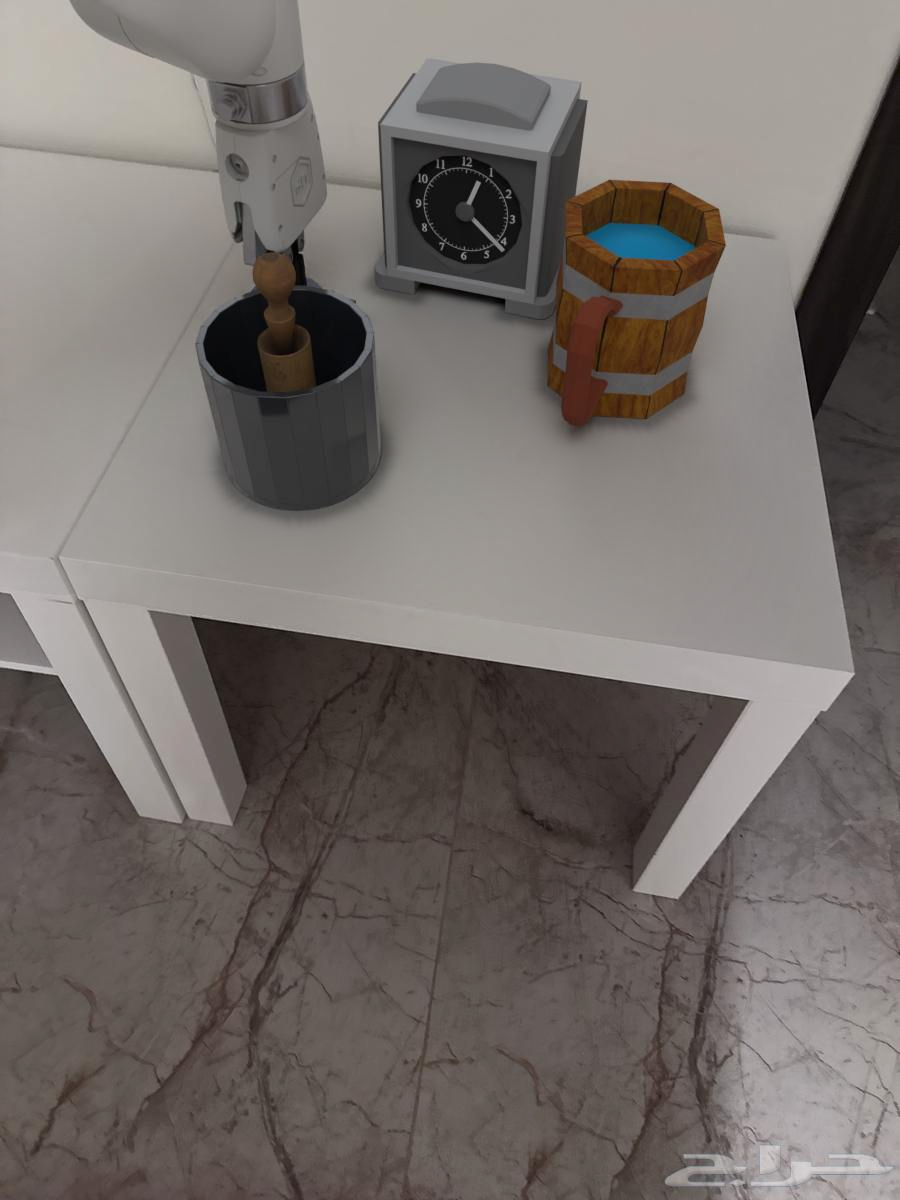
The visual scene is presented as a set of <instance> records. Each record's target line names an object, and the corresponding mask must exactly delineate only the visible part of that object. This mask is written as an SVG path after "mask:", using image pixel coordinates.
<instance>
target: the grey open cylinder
mask: <svg viewBox="0 0 900 1200" xmlns="http://www.w3.org/2000/svg"><path fill="white" fill-rule="evenodd" d="M347 298H348V297H346V296H344V295H342V294H340V293H337V292H336V291H333V290H329V289H325V288H322V289H321V288H317V287H313V286H298V285H294V287H293V289H292V292H291V294H290V296H289V297H288V304H289V305H290V306H292V307H293V308H294V310H295V325H299V326H301V327H303V328H305V329H306V330H307V331H308V333H309V335H310V340H311V349H312V358H313V366H314V373H315V381H316V387H314V388H309V389H303V390H298V391H292V392H267V388H266V383H265V378H264V373H263V368H262V363H261V358H260V353H259V349H258V343H257V341H258V338H259V336H260V335H261V333H262V332H264V331H265V330H266V329H268V328H269V327H268V325H267V323H266V320H265V317H264V311H265V310H266V308H268V307H269V304H268V301H267V299H266V298H265V297H264V296H263V295H262V293H261V292H260V291H259V290H258V289H256V290H254V291H251V290H250V291H249V292H246V293H243V294H240V295H237V296H235V297H233V298H231V299H229V300H227V302H225V303H223V304H222V305H221V306H219V307H218V308H216V309H215V310H213V311H212V312H211V313H210V315H209V316H208V317H207V318H206V319H205V321H204V322H203V323H202V324H201V326H200V328H199V330H198V334H197V337H196V341H195V345H194V346H195V351H196V356H197V361H198V365H199V369H200V373H201V377H202V381H203V386H204V388H205V389H204V390H205V393H206V397H207V401H208V405H209V409H210V412H211V413H210V414H211V417H212V421H213V425H214V429H215V432H216V436H217V440H218V444H219V449H220V452H221V455H222V460H223V463H224V467H225V470H226V471H227V472H226V473H227V475H228V477H229V479H230V481H231V482H232V484H233V485H234V486H235V488H236V489H237V490H239V491H240V493H242V495H244V496H246V497H247V498H249V499H250V500H252V501H254V502H255V503H258V504H261V505H262V506H265V507H268V508H273V509H278V510H285V511H309V510H310V511H311V510H316V509H322V508H325V507H329V506H332V505H334V504H338V503H340V502H343V501H344V500H346V499H348V498H350V497H351V496H352V495H354V494H356V493H358V492H359V491H360V490H361V489H363V488H364V487H365V486H366V485H367V483H368V482H369V481H370V480H371V478H372V477H373V476H374V474H375V472H376V471H377V468H378V466H379V463H380V460H381V453H382V451H381V450H382V449H381V443H382V437H381V422H380V421H381V419H380V405H379V390H378V387H379V386H378V374H377V357H376V355H377V354H376V341H375V340H376V339H375V332H374V329H373V326H372V323H371V321H370V318H369V316H368V315H367V314H366V312H365V311H364V310H363V309H362V308H361V307H360V306H359V305H358V304H357V302H356V303H355V302H353V301H351V300H349V299H350V298H348V299H347Z"/></svg>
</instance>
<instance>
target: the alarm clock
mask: <svg viewBox="0 0 900 1200" xmlns="http://www.w3.org/2000/svg"><path fill="white" fill-rule="evenodd" d="M581 90H582V81H579V80H578V81H577V80H570V79H565V78H558V77H553V76H552V77H551V76H545V75H539V74H532V73H528V72H526V71H525V72H524V71H523V70H519V69H518V68H515V67H510V66H506V65H502V64H497V63H489V62H487V63H486V62H464V63H461V62H454V61H447V60H442V59H435V58H429V57H428V58H426V59H425V60H424V62H423V63H422V64H421V66H420V68H419V69H418V70H417V72H413V73H411V75H410V77H409V79H407V81H406V82H405V84H404V85H403V86H402V88H401V89H400V91H399V92H398V94H397V95H396V96H395V98H394V99H393V100H392V102H391V104H390V105H389V106H388V108H387V109H386V110H385V112H384V113H383V115H382V116H381V117H380V119H379V120H378V122H377V131H378V133H377V134H378V153H379V172H380V173H379V175H380V176H379V177H380V192H381V193H380V194H381V195H380V196H381V213H382V233H383V252H382V253H381V255H380V257H379V258H378V260H377V261H376V263H375V265H374V280H375V283H376V286H377V287H379V288H380V289H383V290H384V289H385V290H390V291H394V292H399V293H404V294H409V295H415V294H416V292H417V290H418V289H419V287H420V285H421V283H423V284H427V285H433V286H439V287H443V288H448V289H454V290H460V291H464V292H469V293H473V294H478V295H484V296H489V297H494V298H500V299H504V300H505V303H504V313H505V314H510V315H514V316H515V315H516V316H519V317H526V318H531V319H535V320H544V319H548V318H549V317H551V316H552V315H553V313H554V311H555V309H556V281H557V276H558V272H559V268H560V263H561V259H562V255H563V247H564V239H565V231H566V201H567V200H569V199H571V198H573V197H575V196H577V195H576V194H577V187H578V179H579V171H580V165H581V164H580V163H581V156H582V148H583V147H582V146H583V140H584V134H585V133H584V132H585V126H586V117H587V109H588V102H589V100H588V99H582V98H581Z"/></svg>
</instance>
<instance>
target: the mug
mask: <svg viewBox="0 0 900 1200" xmlns="http://www.w3.org/2000/svg"><path fill="white" fill-rule="evenodd" d="M726 247H727V243H726V239H725V233H724V228H723V223H722V217H721V213H720V208H718V207H717V206H715V205H713V204H711V203H709V202H707V201H705V200H704V199H702V198H700V197H698V196H696V195H694V194H692V193H691V192H688V191H687V190H685V189H684V188H682V187H680V186H678V185H676V184H674V183H672V182H665V181H664V182H663V181H643V180H624V179H623V180H621V179H608V180H606V181H603V182H601V183H599V184H598V185H595V186H593V187H591V188H589V189H587V190H586V191H583V192H581V193H579V194H577V195H575V197H573V198H571V199H569V200H567V201H566V231H565V239H564V247H563V255H562V259H561V263H560V268H559V272H558V276H557V281H556V305H555V313H554V320H553V321H554V322H553V329H552V332H551V336H550V340H549V344H548V347H547V379H546V380H547V382H546V384H547V385H546V386H547V387H548V388H549V389H551V390H552V391H554V392H555V393H556V394H558V395H559V396H560V397H561V401H560V411H561V416H562V419H563V421H564V422H566V423H568V425H569V424H570V425H571V426H578V427H582V426H584V425H586V424H587V422H589V420H590V419H592V417H607V418H608V417H609V418H610V417H611V418H623V419H624V418H625V419H641V420H647V419H648V418H650V417H651V416H653V415H655V414H656V413H657V412H659V411H660V410H662V409H664V408H665V407H666V406H668V405H669V404H671V403H673V402H674V401H676V400H677V399H679V398H681V397H682V396H683V395H685V391H686V385H687V376H688V370H689V366H690V363H691V359H692V355H693V351H694V350H695V348H696V347H695V346H696V344H697V341H698V339H699V336H700V334H701V332H702V329H703V327H704V323H705V316H706V310H707V304H708V298H709V294H710V290H711V287H712V283H713V280H714V275H715V273H716V270H717V268H718V265H719V263H720V260H721V258H722V255H723V253H724V251H725V249H726Z"/></svg>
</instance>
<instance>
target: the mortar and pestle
mask: <svg viewBox="0 0 900 1200" xmlns="http://www.w3.org/2000/svg"><path fill="white" fill-rule="evenodd" d="M252 281H253V283H254V286H256V287H257V289H258V290H259V291H260V292H261V293H262V295H263V296H264V297H265V298H266V299H267V301H268V304H269V307H268V308H266V310H265V311H264V317H265V320H266V323H267V325H268V327H269V328H268V329H266V330H265V331H264V332H262V333H261V335H260V336H259V338H258V341H257V343H258V349H259V353H260V358H261V363H262V368H263V373H264V378H265V383H266V388H267V392H292V391H298V390H303V389H309V388H314V387H316V381H315V373H314V366H313V358H312V349H311V340H310V335H309V333H308V331H307V330H306V329H305V328H303V327H301V326H299V325H295V310H294V308H293V307H292V306H290V305H289V304H288V297H289V296H290V294H291V292H292V289H293V287H294V285H295V281H296V272H295V268H294V266H293V264H292V262H291V261H290V260H289V259H288V258H287V257H286V256H284V255H283V254H280V253H275V252H271V253H266V254H264V255H262V256H260V257H259V258H258V259H257V260H256V262H255V264H254V266H252Z"/></svg>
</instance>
